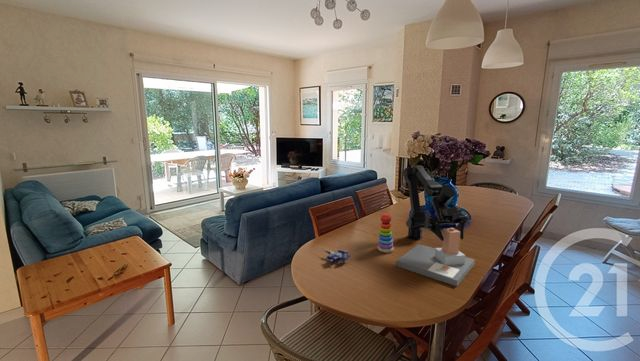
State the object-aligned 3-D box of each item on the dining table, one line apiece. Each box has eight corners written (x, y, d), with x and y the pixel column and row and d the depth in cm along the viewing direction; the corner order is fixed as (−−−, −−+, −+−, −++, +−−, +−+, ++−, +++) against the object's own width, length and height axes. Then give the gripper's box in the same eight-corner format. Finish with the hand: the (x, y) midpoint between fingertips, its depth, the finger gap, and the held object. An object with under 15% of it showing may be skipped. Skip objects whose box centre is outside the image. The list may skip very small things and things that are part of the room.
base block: (434, 256, 138) (435, 248, 137) (452, 254, 139) (453, 246, 138) (445, 265, 129) (446, 256, 128) (464, 263, 131) (465, 255, 130)
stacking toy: (394, 247, 153) (395, 212, 150) (392, 254, 146) (394, 217, 142) (378, 245, 156) (379, 211, 152) (376, 252, 149) (377, 215, 145)
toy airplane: (320, 254, 146) (320, 247, 146) (348, 254, 147) (348, 247, 146) (320, 267, 134) (320, 259, 133) (352, 266, 134) (352, 259, 133)
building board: (395, 265, 134) (396, 260, 134) (418, 248, 152) (418, 243, 151) (456, 286, 117) (457, 280, 117) (474, 264, 135) (474, 258, 135)
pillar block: (441, 249, 136) (443, 226, 133) (451, 248, 136) (453, 226, 134) (447, 254, 131) (449, 230, 129) (458, 253, 131) (460, 230, 129)
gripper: (429, 200, 131) (440, 233, 123) (468, 198, 134) (482, 230, 126) (419, 212, 141) (429, 244, 132) (456, 210, 143) (468, 241, 135)
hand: (452, 239), depth 131 cm, fingers open, 9 cm apart
